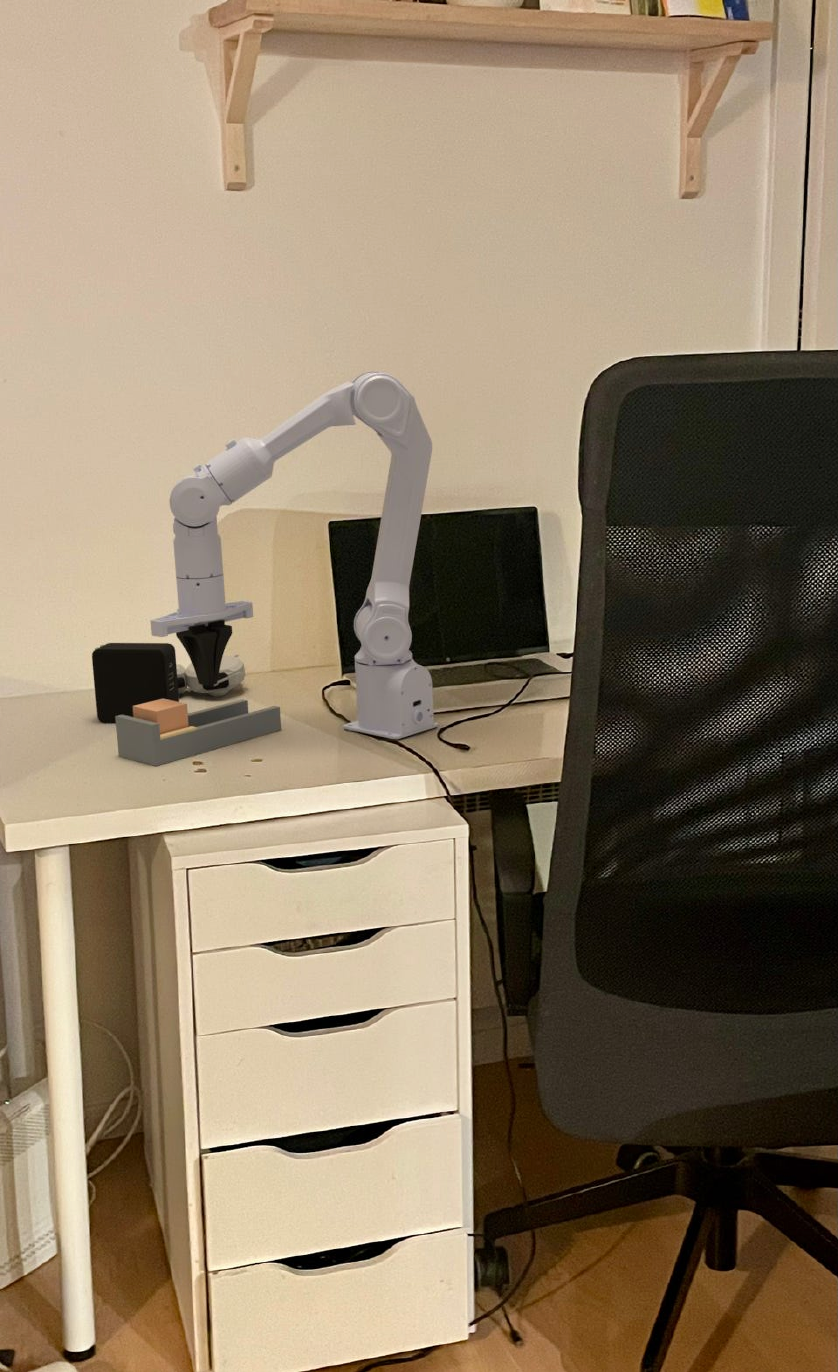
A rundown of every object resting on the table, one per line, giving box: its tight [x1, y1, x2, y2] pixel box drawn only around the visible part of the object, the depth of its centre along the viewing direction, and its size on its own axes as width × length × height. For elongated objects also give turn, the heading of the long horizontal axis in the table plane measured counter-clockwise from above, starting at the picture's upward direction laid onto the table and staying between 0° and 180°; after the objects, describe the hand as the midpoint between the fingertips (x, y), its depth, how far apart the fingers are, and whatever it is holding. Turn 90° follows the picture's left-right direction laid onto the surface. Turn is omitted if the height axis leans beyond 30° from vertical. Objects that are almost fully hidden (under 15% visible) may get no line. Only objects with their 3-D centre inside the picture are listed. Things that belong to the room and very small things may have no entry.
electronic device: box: [91, 642, 180, 725], centre depth 199 cm, size 4×10×10 cm, turn 78°
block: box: [133, 699, 189, 735], centre depth 183 cm, size 5×5×5 cm
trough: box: [115, 699, 282, 767], centre depth 187 cm, size 20×7×5 cm, turn 138°
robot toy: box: [176, 654, 247, 698], centre depth 214 cm, size 12×4×15 cm
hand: (208, 683), depth 187 cm, fingers closed
